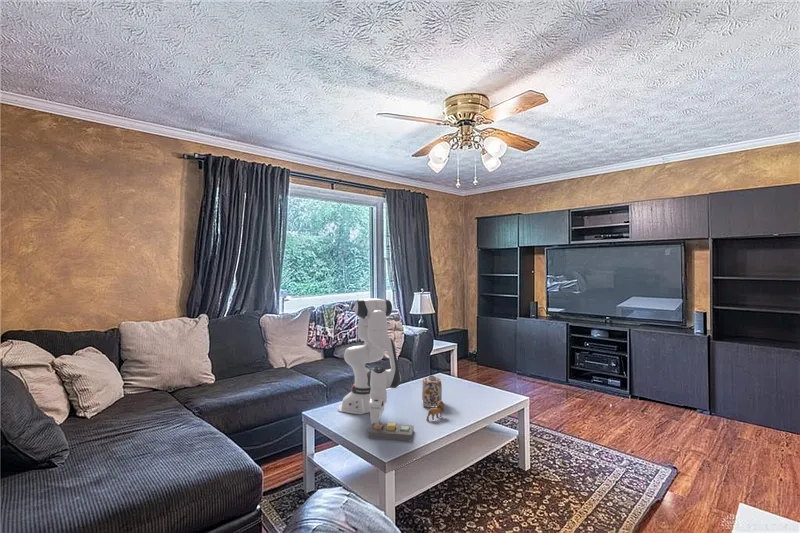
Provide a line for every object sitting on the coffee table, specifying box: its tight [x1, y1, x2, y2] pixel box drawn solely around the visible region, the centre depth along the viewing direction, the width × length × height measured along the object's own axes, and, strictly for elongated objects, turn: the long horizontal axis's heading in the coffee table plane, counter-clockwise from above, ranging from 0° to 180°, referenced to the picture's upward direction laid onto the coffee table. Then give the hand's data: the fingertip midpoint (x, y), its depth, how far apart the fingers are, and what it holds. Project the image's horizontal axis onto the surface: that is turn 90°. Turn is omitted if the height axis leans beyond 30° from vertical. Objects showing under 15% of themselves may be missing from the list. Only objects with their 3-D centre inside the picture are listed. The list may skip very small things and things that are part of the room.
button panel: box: [367, 422, 414, 441], centre depth 204 cm, size 22×12×3 cm, turn 83°
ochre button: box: [387, 422, 397, 431], centre depth 204 cm, size 4×4×4 cm
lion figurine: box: [426, 400, 445, 422], centre depth 226 cm, size 15×5×9 cm, turn 141°
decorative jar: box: [421, 375, 443, 407], centre depth 249 cm, size 12×12×18 cm
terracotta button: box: [374, 424, 383, 430], centre depth 205 cm, size 4×4×4 cm
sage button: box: [401, 426, 409, 432], centre depth 203 cm, size 4×4×4 cm
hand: (377, 425), depth 205 cm, fingers closed
